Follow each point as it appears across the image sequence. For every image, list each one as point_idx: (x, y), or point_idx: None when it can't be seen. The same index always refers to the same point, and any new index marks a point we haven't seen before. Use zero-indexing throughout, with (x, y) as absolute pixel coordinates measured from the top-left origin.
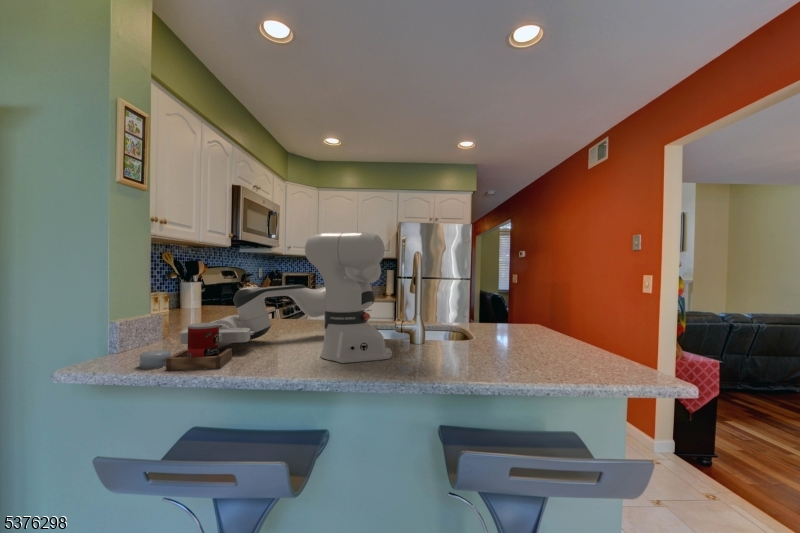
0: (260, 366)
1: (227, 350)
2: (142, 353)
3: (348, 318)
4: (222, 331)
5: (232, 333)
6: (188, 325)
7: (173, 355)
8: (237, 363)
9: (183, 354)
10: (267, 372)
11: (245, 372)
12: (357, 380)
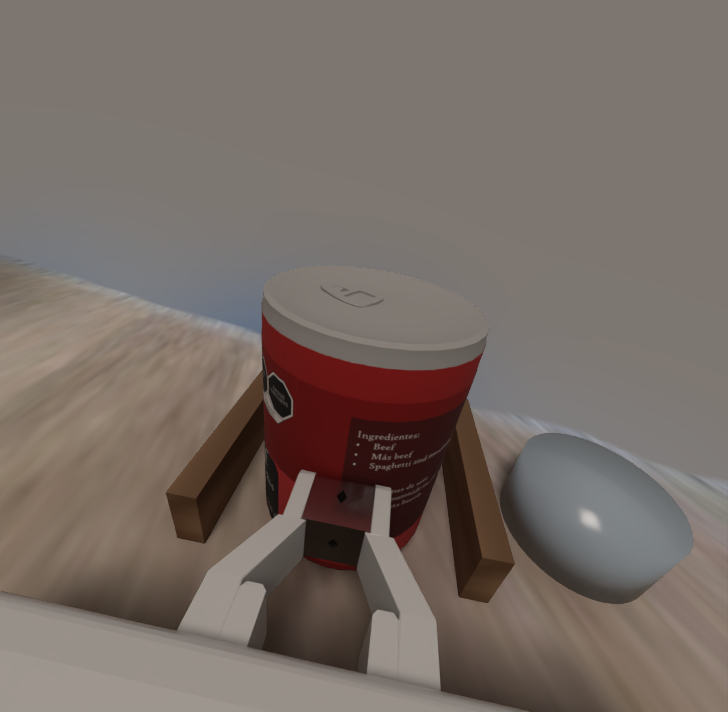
0: (127, 374)
1: (212, 450)
2: (671, 500)
3: None
4: (152, 661)
5: (21, 599)
6: (474, 305)
7: (475, 438)
8: (188, 432)
9: (465, 503)
10: (148, 332)
11: (204, 348)
12: (25, 264)
